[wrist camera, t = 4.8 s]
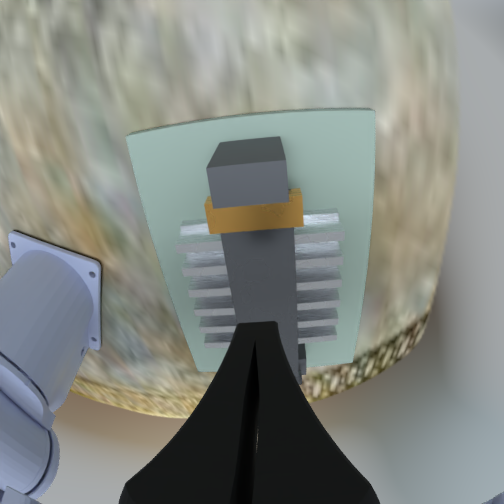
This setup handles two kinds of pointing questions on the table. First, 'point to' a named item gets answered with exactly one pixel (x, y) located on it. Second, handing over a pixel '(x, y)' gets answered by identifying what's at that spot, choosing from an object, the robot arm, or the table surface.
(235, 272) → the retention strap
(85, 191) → the table surface
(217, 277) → the heat sink
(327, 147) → the socket board
